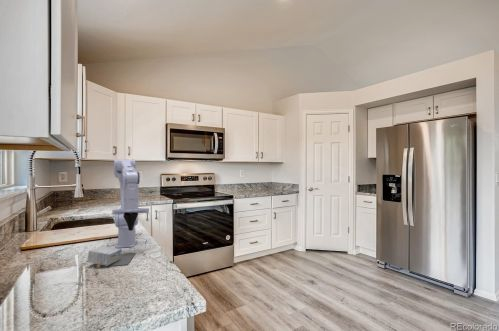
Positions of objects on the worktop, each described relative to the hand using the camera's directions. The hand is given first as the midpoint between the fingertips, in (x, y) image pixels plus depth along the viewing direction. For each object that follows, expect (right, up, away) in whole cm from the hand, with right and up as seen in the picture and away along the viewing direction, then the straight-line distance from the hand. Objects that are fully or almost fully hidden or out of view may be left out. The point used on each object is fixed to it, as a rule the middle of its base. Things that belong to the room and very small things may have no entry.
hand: (130, 230), depth 109 cm
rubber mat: (-1, -10, -7) cm, 13 cm away
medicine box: (-9, -6, -11) cm, 16 cm away
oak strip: (-6, -10, -10) cm, 15 cm away
